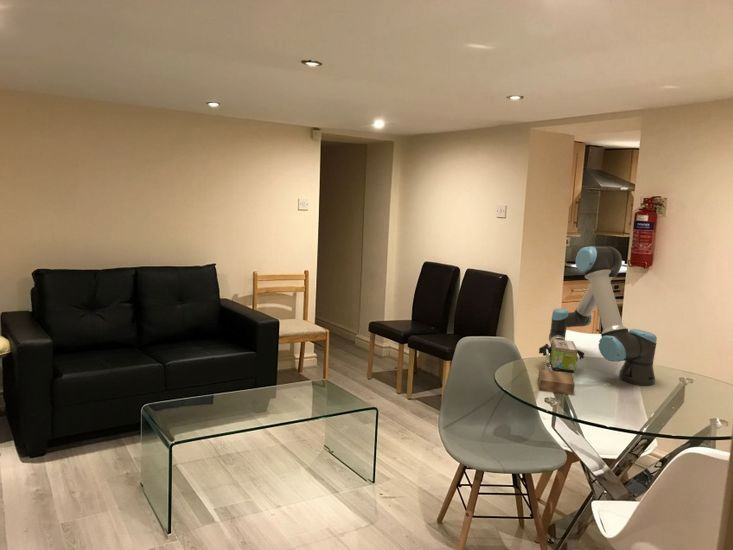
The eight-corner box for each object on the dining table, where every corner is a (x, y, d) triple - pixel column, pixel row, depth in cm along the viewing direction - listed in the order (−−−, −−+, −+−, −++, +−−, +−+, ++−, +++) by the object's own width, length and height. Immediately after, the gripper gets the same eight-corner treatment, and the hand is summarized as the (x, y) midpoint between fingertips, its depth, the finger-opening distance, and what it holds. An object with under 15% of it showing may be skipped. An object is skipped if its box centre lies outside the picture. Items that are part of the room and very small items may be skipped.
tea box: (574, 381, 267) (578, 349, 264) (551, 378, 269) (554, 347, 266) (569, 370, 281) (573, 340, 278) (548, 367, 283) (551, 337, 280)
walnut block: (570, 384, 264) (571, 373, 263) (573, 395, 250) (574, 384, 249) (537, 379, 267) (539, 369, 266) (539, 391, 253) (540, 380, 252)
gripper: (584, 355, 290) (590, 369, 270) (532, 349, 295) (534, 362, 275) (586, 340, 289) (592, 353, 268) (533, 334, 294) (535, 347, 274)
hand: (562, 358), depth 272 cm, fingers open, 13 cm apart
